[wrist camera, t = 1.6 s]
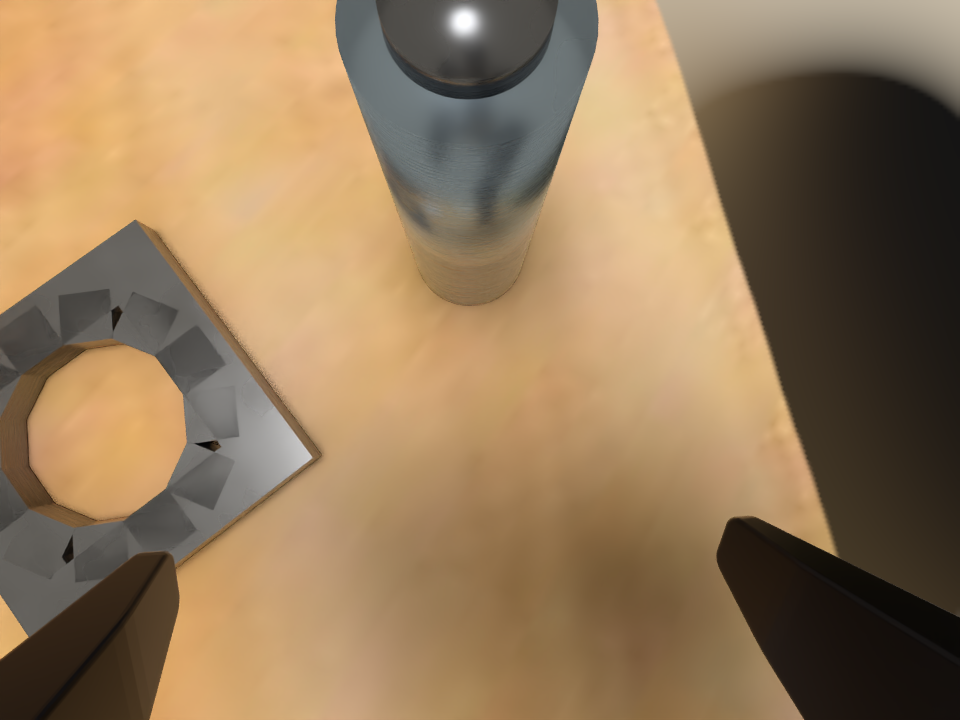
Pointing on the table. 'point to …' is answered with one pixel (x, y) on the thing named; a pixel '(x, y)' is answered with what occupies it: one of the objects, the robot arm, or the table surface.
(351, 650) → the table surface
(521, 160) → the thermos bottle
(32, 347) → the square metal washer
